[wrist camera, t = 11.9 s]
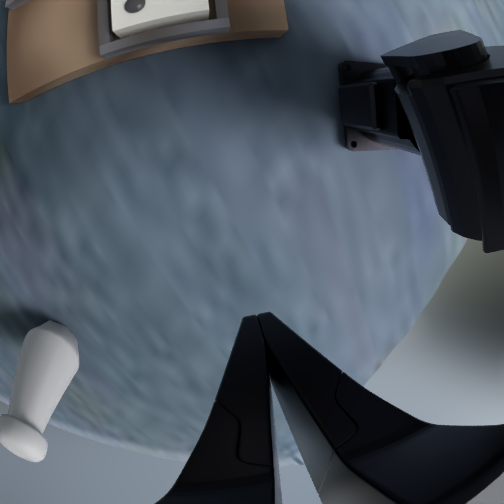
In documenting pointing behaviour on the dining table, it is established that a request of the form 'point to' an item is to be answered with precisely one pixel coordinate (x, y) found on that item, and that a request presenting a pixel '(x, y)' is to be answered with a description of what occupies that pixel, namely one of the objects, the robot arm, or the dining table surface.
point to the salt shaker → (38, 388)
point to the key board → (112, 38)
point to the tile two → (154, 14)
